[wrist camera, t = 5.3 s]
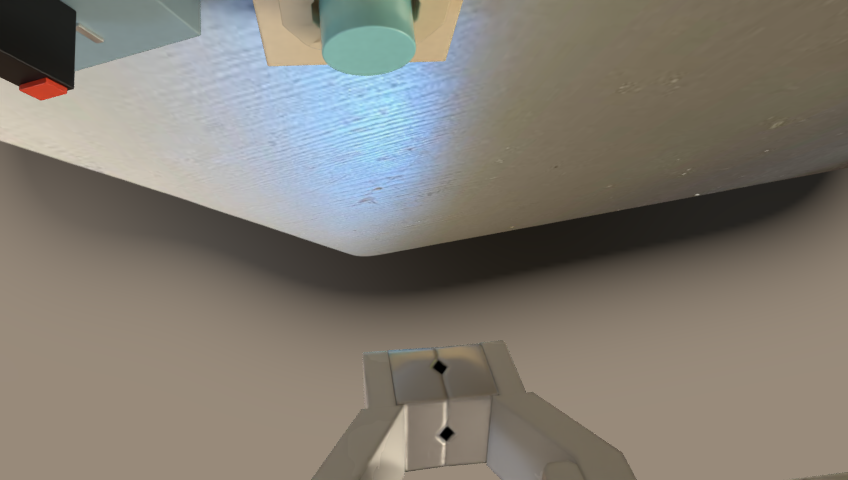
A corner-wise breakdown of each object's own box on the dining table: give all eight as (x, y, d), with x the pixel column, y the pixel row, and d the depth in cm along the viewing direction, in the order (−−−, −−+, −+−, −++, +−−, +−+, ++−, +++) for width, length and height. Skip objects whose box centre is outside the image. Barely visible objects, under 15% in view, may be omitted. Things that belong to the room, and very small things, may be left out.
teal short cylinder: (316, -26, 23) (319, 27, 23) (415, -27, 24) (421, 25, 23) (320, 30, 27) (323, 77, 26) (406, 28, 27) (411, 75, 27)
